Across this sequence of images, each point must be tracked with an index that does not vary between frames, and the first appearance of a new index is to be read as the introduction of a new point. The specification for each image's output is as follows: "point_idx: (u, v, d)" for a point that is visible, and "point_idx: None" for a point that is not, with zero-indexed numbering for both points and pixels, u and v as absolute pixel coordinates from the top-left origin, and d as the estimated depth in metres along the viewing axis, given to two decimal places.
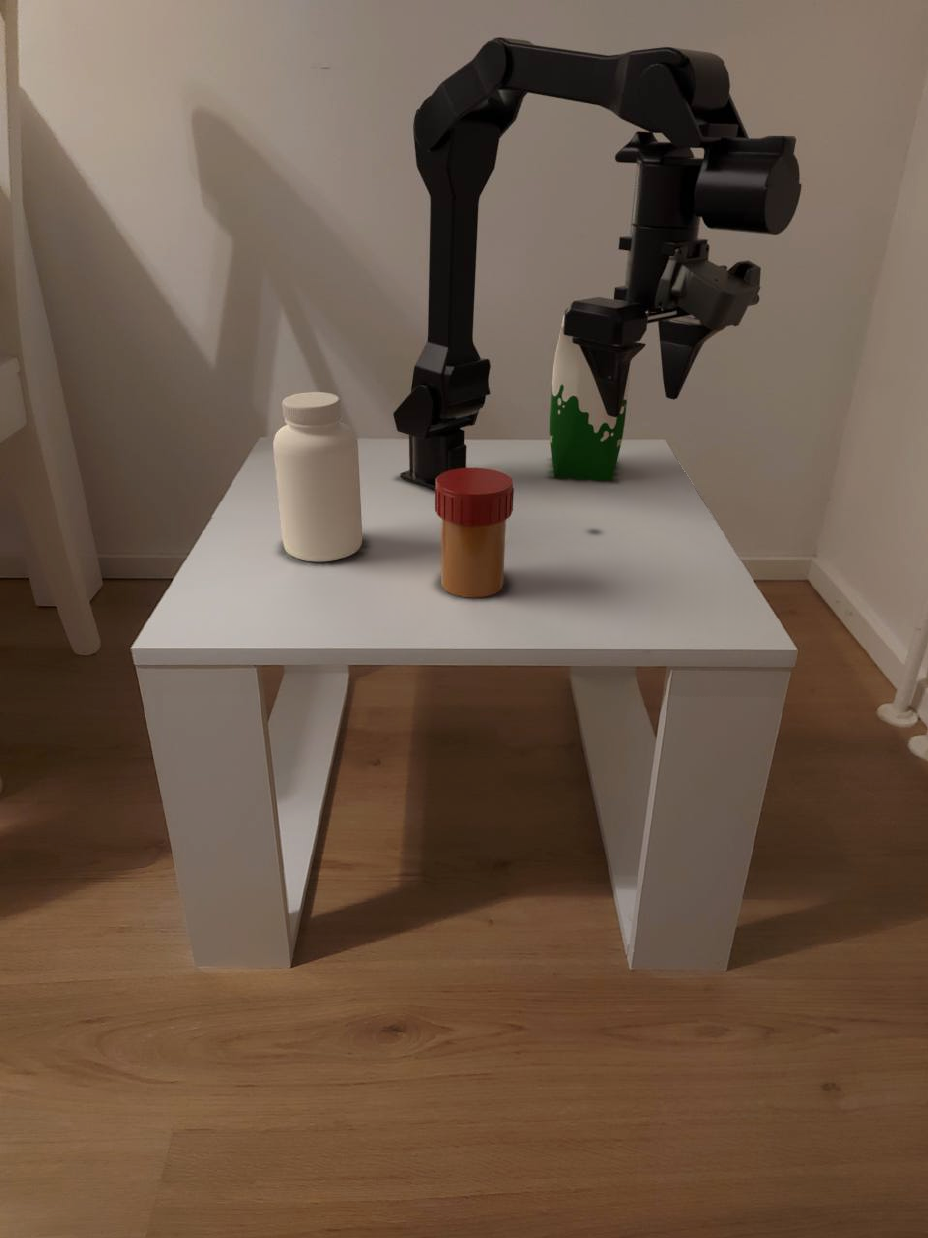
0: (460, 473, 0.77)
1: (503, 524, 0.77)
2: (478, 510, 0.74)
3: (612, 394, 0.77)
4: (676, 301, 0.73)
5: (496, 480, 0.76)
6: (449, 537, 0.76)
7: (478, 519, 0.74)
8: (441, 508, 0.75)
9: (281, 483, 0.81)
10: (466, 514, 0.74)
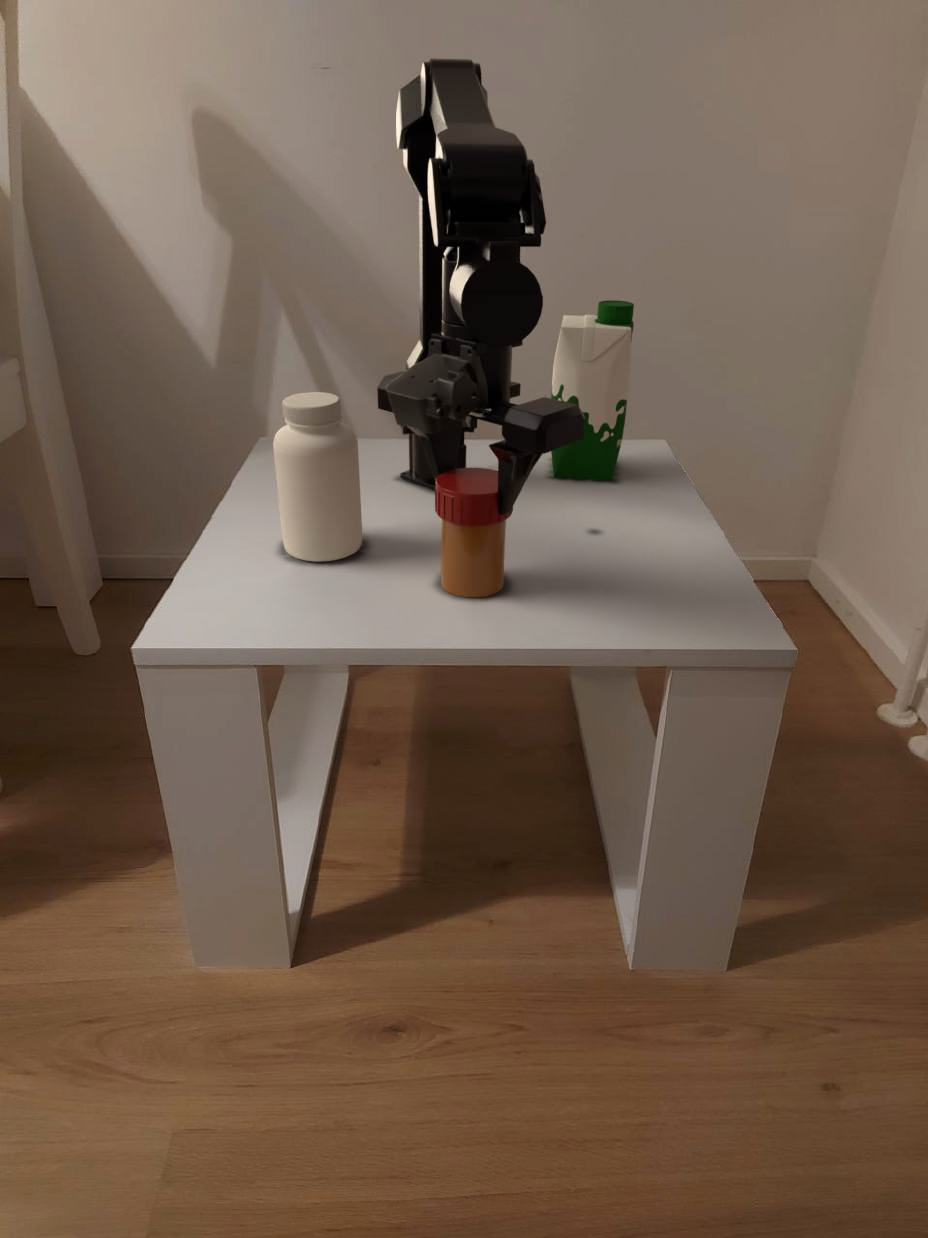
0: (460, 473, 0.77)
1: (503, 524, 0.77)
2: (478, 510, 0.74)
3: None
4: None
5: (496, 480, 0.76)
6: (449, 537, 0.76)
7: (478, 519, 0.74)
8: (441, 508, 0.75)
9: (281, 483, 0.81)
10: (466, 514, 0.74)
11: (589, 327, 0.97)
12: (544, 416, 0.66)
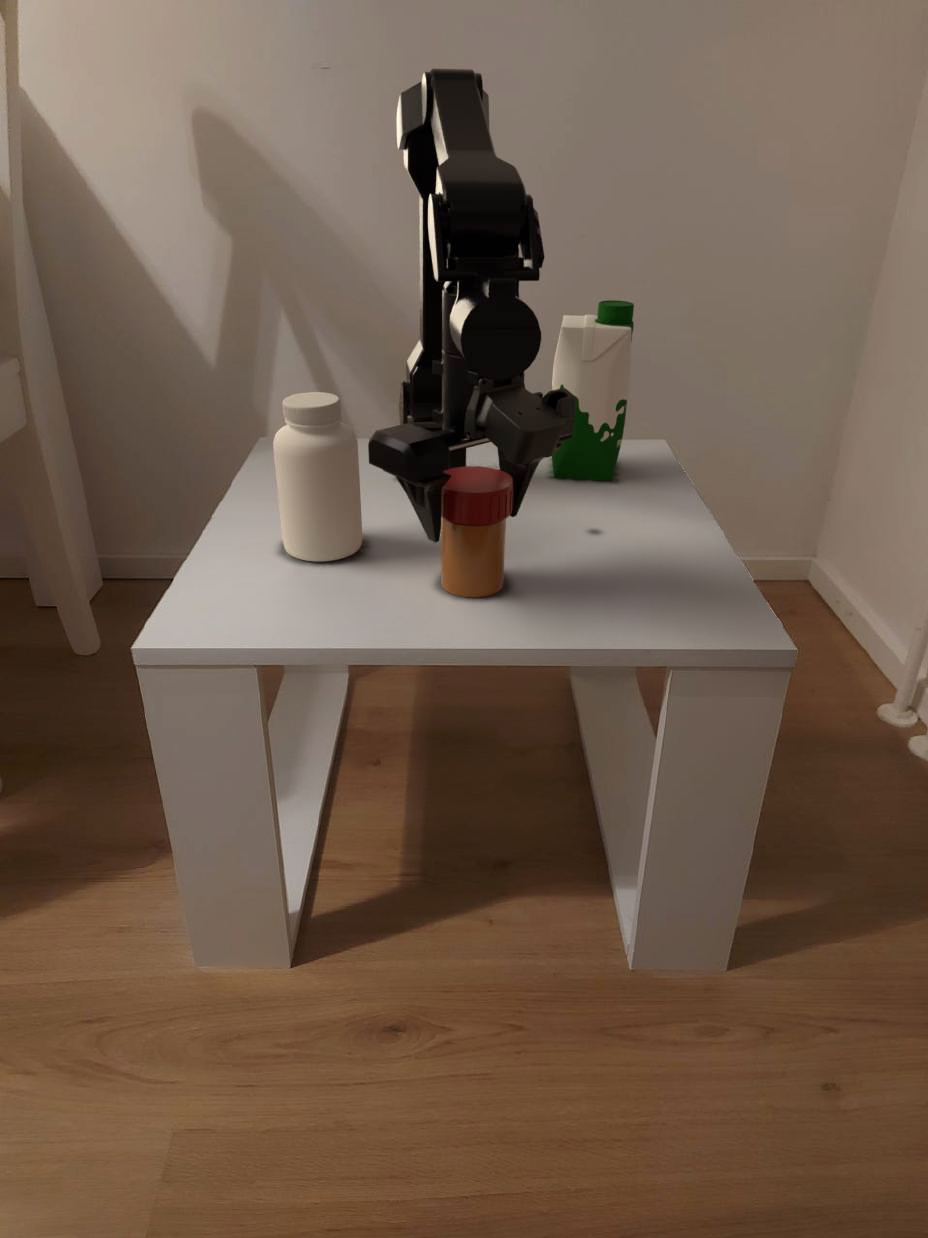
0: (454, 483, 0.75)
1: (503, 524, 0.77)
2: None
3: (428, 521, 0.74)
4: (484, 431, 0.70)
5: (474, 471, 0.78)
6: (449, 537, 0.76)
7: None
8: (495, 512, 0.74)
9: (281, 483, 0.81)
10: (511, 502, 0.76)
11: (589, 327, 0.97)
12: None
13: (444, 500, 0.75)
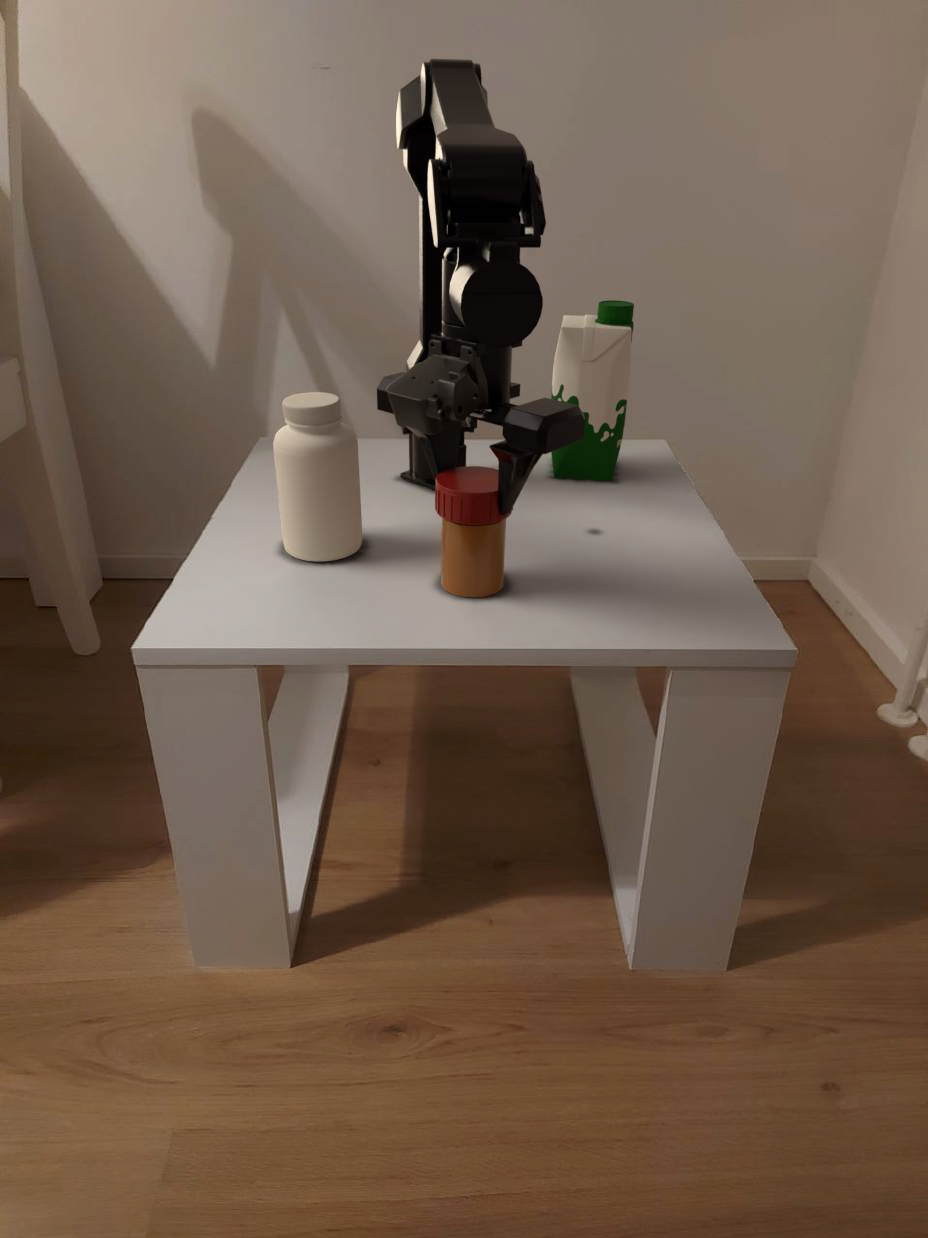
0: (454, 483, 0.75)
1: (503, 524, 0.77)
2: None
3: None
4: None
5: (474, 471, 0.78)
6: (449, 537, 0.76)
7: None
8: (496, 512, 0.74)
9: (281, 483, 0.81)
10: None
11: (589, 327, 0.97)
12: (545, 417, 0.66)
13: (444, 500, 0.74)
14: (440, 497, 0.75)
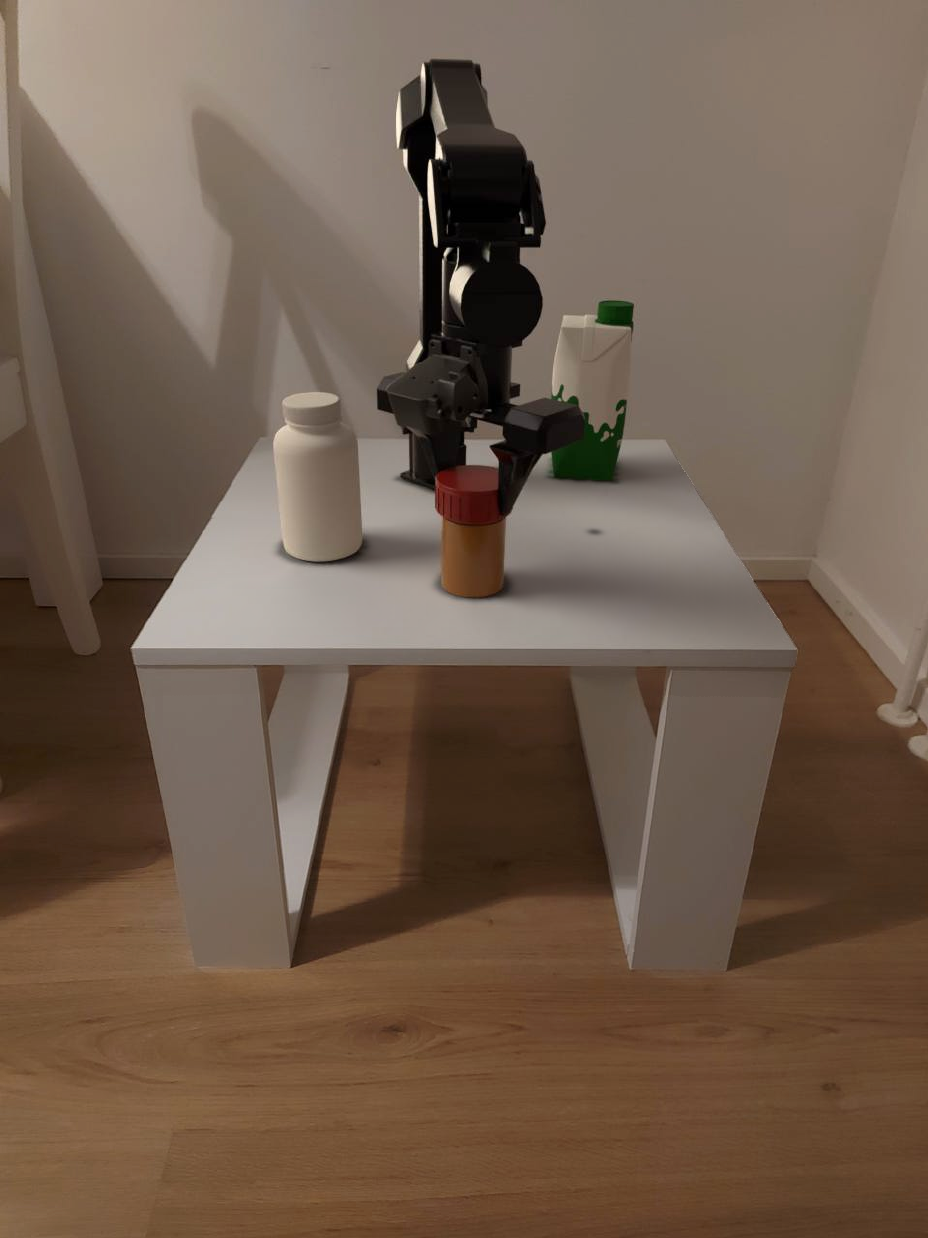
0: (488, 485, 0.74)
1: (503, 524, 0.77)
2: None
3: None
4: None
5: (452, 477, 0.76)
6: (449, 537, 0.76)
7: None
8: None
9: (281, 483, 0.81)
10: None
11: (589, 327, 0.97)
12: (545, 417, 0.66)
13: None
14: (493, 502, 0.74)
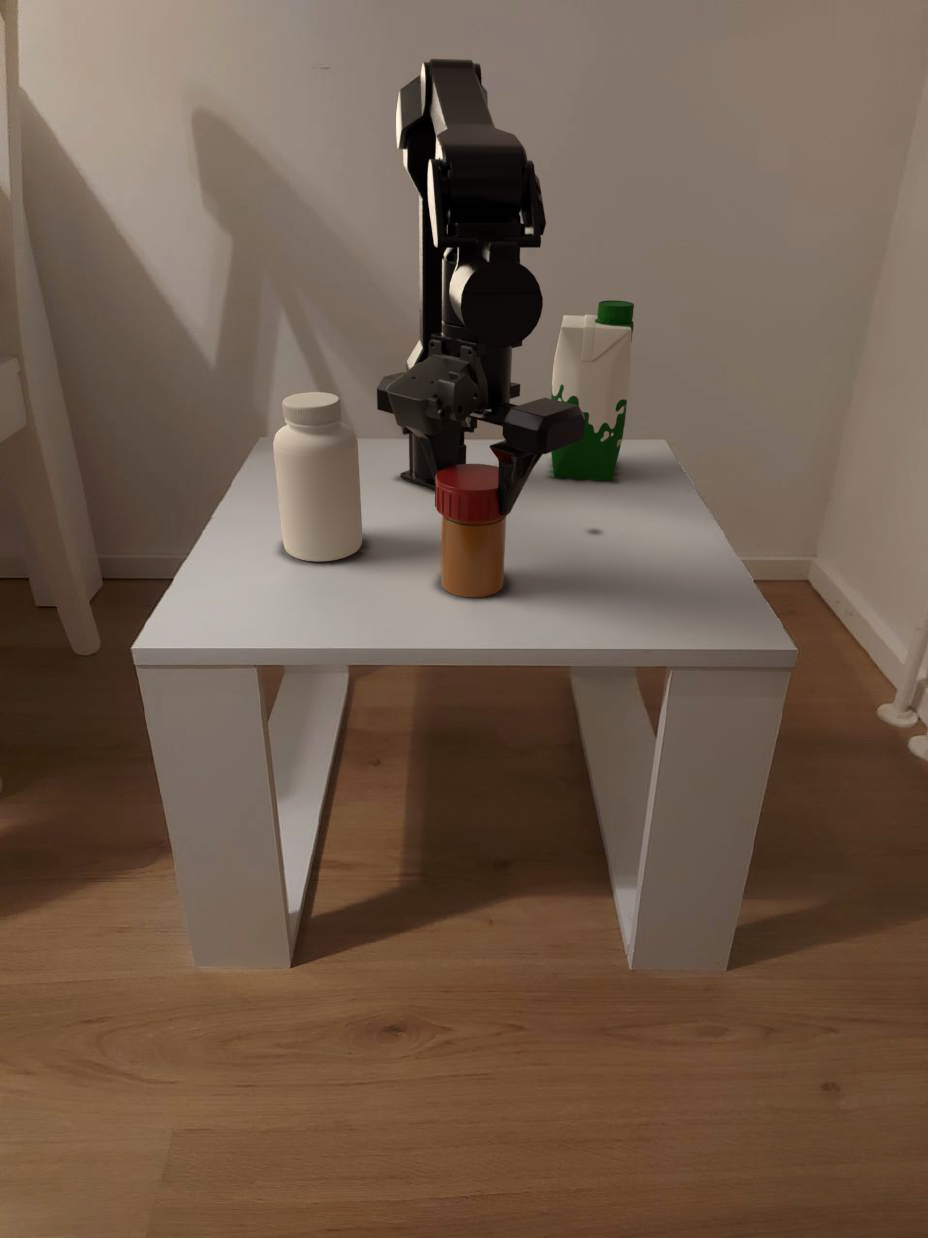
0: (494, 472, 0.77)
1: (503, 524, 0.77)
2: None
3: None
4: None
5: (473, 484, 0.74)
6: (449, 537, 0.76)
7: None
8: None
9: (281, 483, 0.81)
10: None
11: (589, 327, 0.97)
12: (545, 417, 0.66)
13: None
14: None
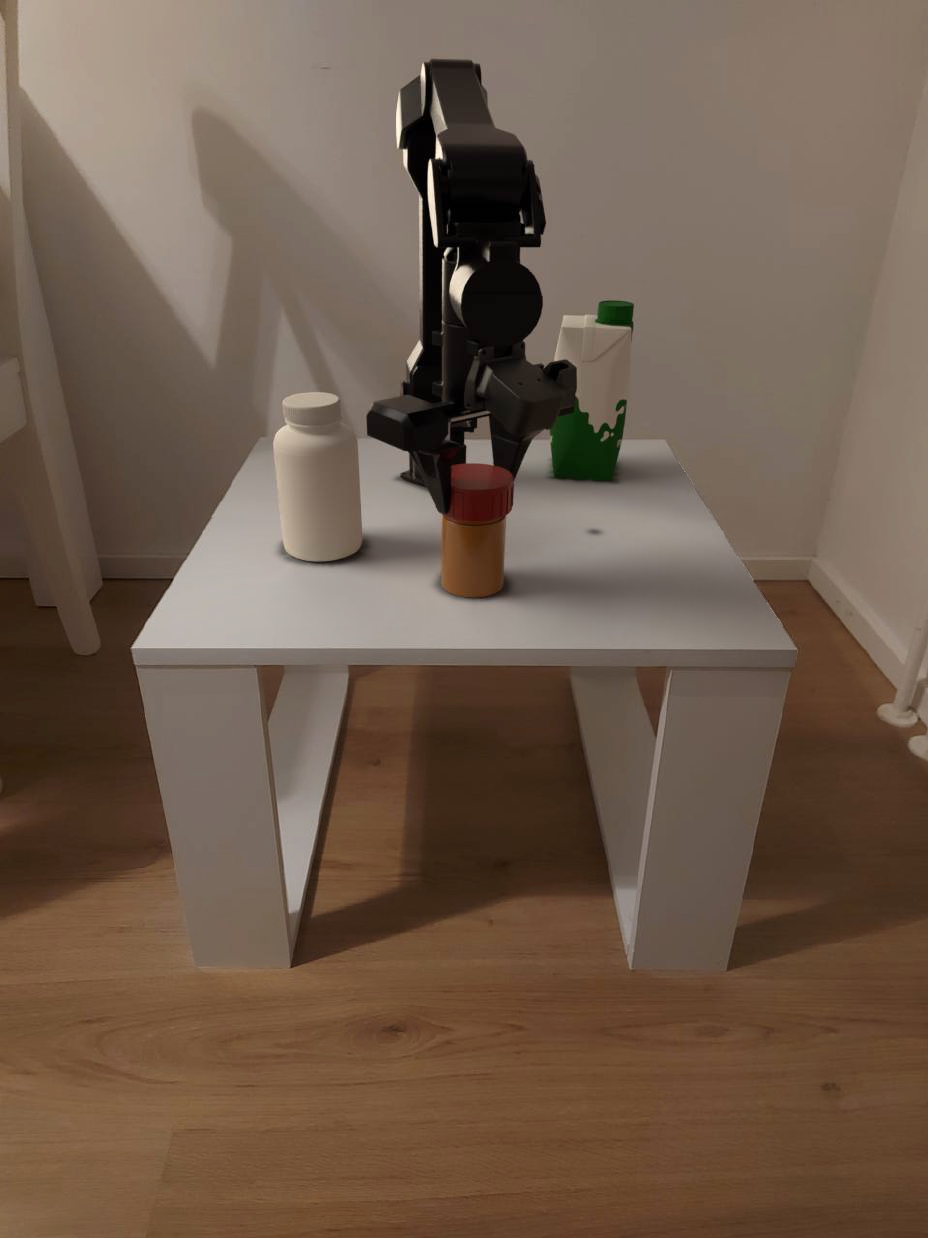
0: (465, 468, 0.77)
1: (503, 524, 0.77)
2: (470, 505, 0.74)
3: (437, 492, 0.73)
4: (484, 403, 0.68)
5: (496, 477, 0.75)
6: (449, 537, 0.76)
7: (470, 514, 0.74)
8: None
9: (281, 483, 0.81)
10: (458, 508, 0.74)
11: (589, 327, 0.97)
12: None
13: None
14: None
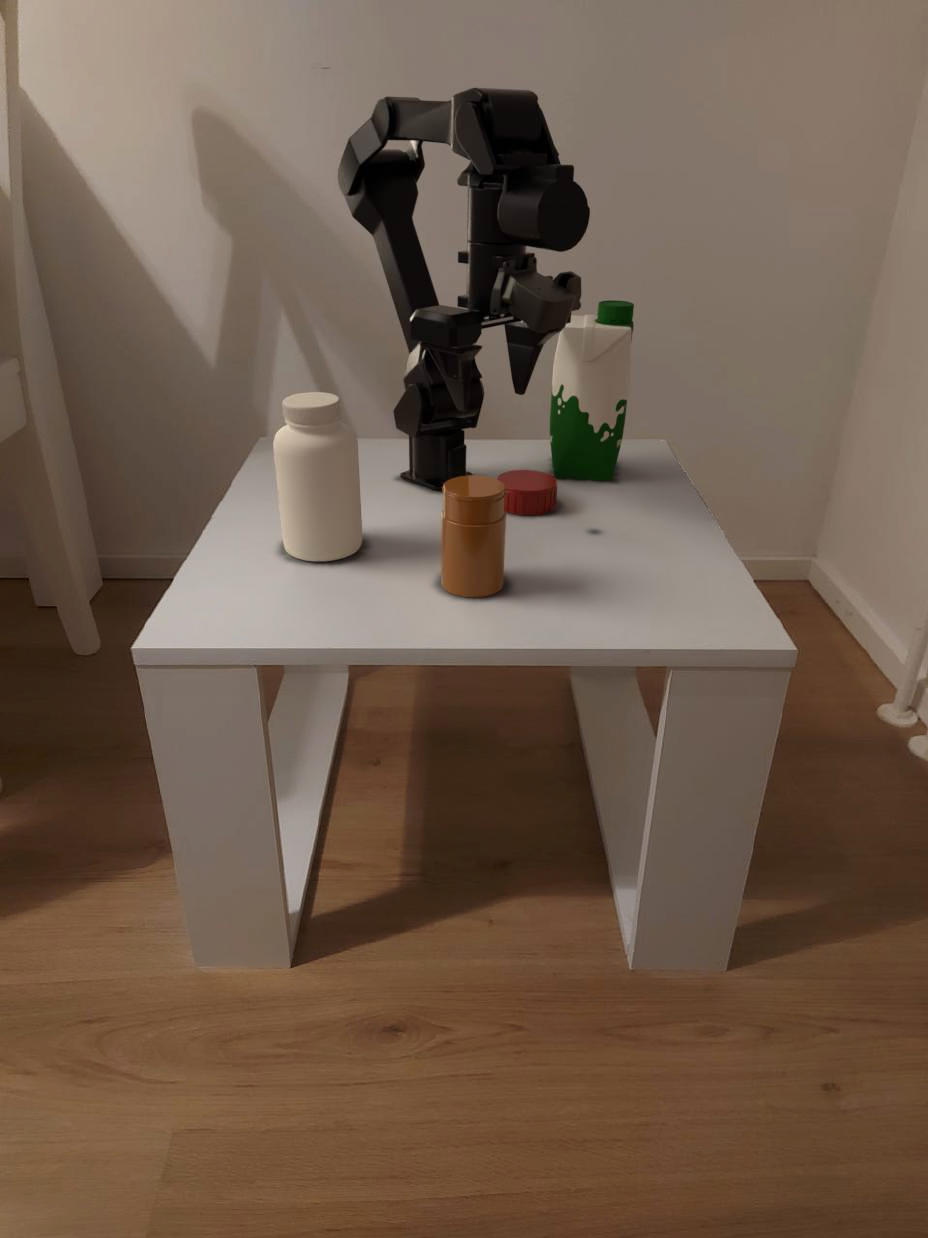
0: (516, 474, 0.99)
1: (503, 524, 0.77)
2: (528, 503, 0.95)
3: (459, 391, 0.86)
4: (507, 308, 0.83)
5: (543, 480, 0.97)
6: (449, 537, 0.76)
7: (528, 510, 0.95)
8: None
9: (281, 483, 0.81)
10: (519, 506, 0.95)
11: (589, 327, 0.97)
12: None
13: None
14: None
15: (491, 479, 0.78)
